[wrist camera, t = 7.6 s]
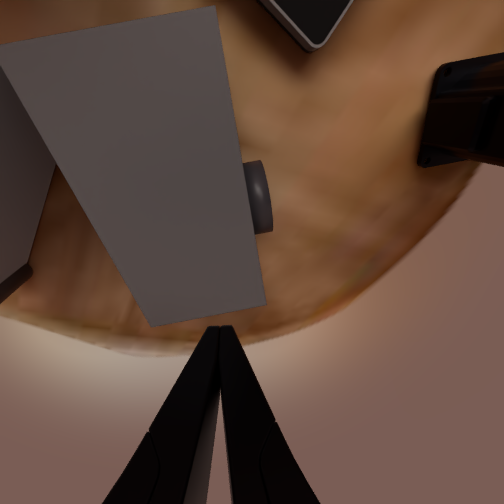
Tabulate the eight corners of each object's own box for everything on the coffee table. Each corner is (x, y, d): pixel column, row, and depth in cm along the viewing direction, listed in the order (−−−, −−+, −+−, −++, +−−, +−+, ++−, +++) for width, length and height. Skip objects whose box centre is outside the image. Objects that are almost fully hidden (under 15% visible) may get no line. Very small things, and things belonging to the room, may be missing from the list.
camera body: (238, 45, 14) (250, -2, 8) (267, 247, 21) (284, 301, 15) (89, 73, 14) (-11, 46, 8) (171, 265, 21) (151, 327, 15)
